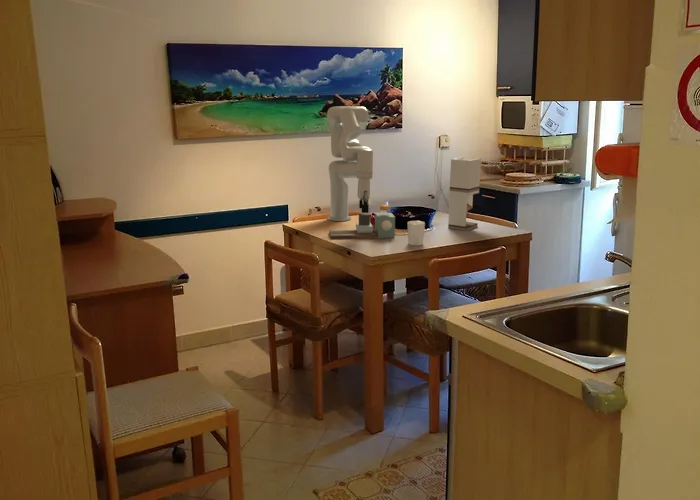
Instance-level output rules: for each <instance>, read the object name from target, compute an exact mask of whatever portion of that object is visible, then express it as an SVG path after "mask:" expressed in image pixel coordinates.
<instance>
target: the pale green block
mask: <svg viewBox="0 0 700 500" xmlns="http://www.w3.org/2000/svg"><path fill="white" fill-rule="evenodd" d="M395 229H396V216H395V215H394V214H393V213H392V212H375V213H374V230H375V232H376V234H377V238H378V239H384V238H385V239H386V238H394V239H395V237H396V235H395V233H396V230H395Z"/></svg>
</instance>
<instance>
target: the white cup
mask: <svg viewBox="0 0 700 500" xmlns="http://www.w3.org/2000/svg"><path fill="white" fill-rule="evenodd" d="M425 226H426V223H425V221H421V220H410V221H407V243H408V245H410V244H411V245H410V246H422V245H424V237H425V230H426V229H425Z"/></svg>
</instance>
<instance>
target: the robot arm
mask: <svg viewBox="0 0 700 500" xmlns="http://www.w3.org/2000/svg"><path fill="white" fill-rule="evenodd" d="M326 117H327V118H326V119H327V123H328V126H329V129H330V150H331V156H332V157H334V158H336V159H337V160H333V161H331V162H330V163H329V164H328V173H329V180H330V215H328V216H327V219H328V221H334V222H335V221H336V222H345V221H346V222H347V221H350V220H352V217H351V216H350V215H349V186H348V184H347V181H345V179H358V180H357V198H358V201H359V202H358V204H359V206H358V208H359V209H361V214H369V211H370V210H369V206H370V205H369V200H370V199H371V198H370V194H371V193H370V192H371V179H373V172H374V171H373V170H374V168H373V167H374V166H373V164H374V150H373V149H372V148H370V147H369V146H364V145H361V143H360V141H359V140H358V139H357V138H359V137H360V136H361V134H362V126H361V124H364V125H365V124H367V123H368V121H369V118H370V116H369V111H368V109H367V108H366V107H365V106H359V105H357V106H354V105H353V106H351V105H350V106H349V105H348V106H347V105H344V106H343V105H342V106H341V105H340V106H337V105H336V106H332V107H329V108H328V110H327V115H326ZM339 158H341V159H342V160H338V159H339Z"/></svg>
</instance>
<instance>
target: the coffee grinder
mask: <svg viewBox="0 0 700 500" xmlns="http://www.w3.org/2000/svg"><path fill="white" fill-rule="evenodd" d="M481 163H482V158H475V159H464V157H455V158H451V159H450V171H449V173H450V176H449V178H450V179H449V195H448V197H449V198H448V199H449V200H448V219H447V220H448V223H447V228H448V229H450V230H452V229H453V230H456V231H457V230H459V231H464V230H466V232H467V230H468V231H470V229H471V230H474V229H476V228H478V225H479V223H477V222H472V221H467V212H468V211H470V210H472V209H473V201H474V199H473V198H474V195H476V194H480V183H481ZM473 228H474V229H473Z"/></svg>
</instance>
